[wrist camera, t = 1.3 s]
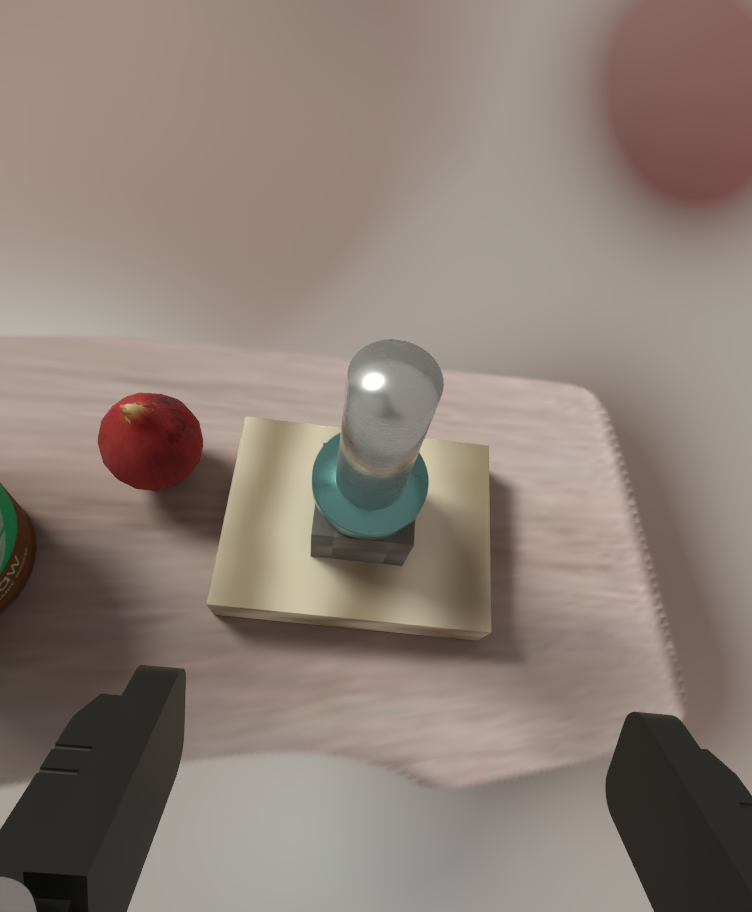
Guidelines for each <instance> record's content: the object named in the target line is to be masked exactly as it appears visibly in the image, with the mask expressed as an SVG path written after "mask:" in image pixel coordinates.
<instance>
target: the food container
mask: <svg viewBox="0 0 752 912" xmlns="http://www.w3.org/2000/svg"><path fill="white" fill-rule="evenodd" d="M35 556H36V537H35V533H34V529H33V526H32V524H31V522H30V520H29V518H28V516H27V515H26V513H25V512H24V511H23V509H22V508H21V507H20V506H19V505H18V503H17V502H16V501H15V500H14V499H13V497H12V496H11V495H10V494H9V493H8V492H7V490H6V489H5V488H4V487H3V486H2V484H1V483H0V614H1V613H2V612H3V611H4V610H5V609H6V608H7V607H8V606H9V605H10V604H11V603H12V602H13V601H14V600H15V599H16V598H17V596H18V595H19V594H20V592H21V591H22V589H23V588H24V586H25V585H26V582H27V580H28V578H29V576H30V574H31V572H32V568H33V565H34V562H35Z"/></svg>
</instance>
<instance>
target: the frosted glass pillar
mask: <svg viewBox="0 0 752 912" xmlns="http://www.w3.org/2000/svg"><path fill="white" fill-rule="evenodd" d="M443 385H444V384H443V376H442V372H441V369H440V367H439V365H438V364H437V363H436V361H435V360H434V358H433V357H432V356H431V355H430V354H429V353H427V352H426V351H425V350H424V349H422V348H420V347H419V346H417V345H414V344H412V343H409V342H406V341H401V340H381V341H377V342H374V343H371V344H369V345H367V346H365V347H364V348H362V349H361V350H360V351H359V352H358V353H357V354H356V355H355V356H354V357H353V359H352V361H351V363H350V365H349V369H348V375H347V383H346V392H345V400H344V409H343V417H342V426H341V432H340V433H339V434H337V435H335V436H334V437H332V438H331V439H330V440H329V441H328V442H327V443H326V444H325V445H324V446H323V447H322V449H321V450H320V451H319V453H318V455H317V457H316V459H315V462H314V466H313V470H312V493H313V498H314V501H315V504H316V506H317V508H318V510H319V512H320V513H321V515H322V516H323V517H324V519H325V520H326V521H327V522H328V523H329V524H330V525H331V526H333V527H334V528H335V529H337V530H338V531H340V532H342V533H344V534H346V535H348V536H351V537H354V538H359V539H365V540H376V539H383V538H387V537H390V536H393V535H395V534H397V533H399V532H401V531H402V530H404V529H405V528H407V527H408V526H409V525H410V524H411V523H412V522H413V521H414V519H415V518H416V517H417V515H418V514H419V512H420V510H421V508H422V506H423V504H424V502H425V499H426V497H427V493H428V486H429V478H428V471H427V468H426V465H425V462H424V460H423V458H422V456H421V455H420V453H419V451H420V448H421V446H422V443H423V441H424V438H425V436H426V433H427V431H428V428H429V426H430V423H431V421H432V418H433V416H434V413H435V411H436V408H437V406H438V403H439V401H440V398H441V396H442V392H443Z"/></svg>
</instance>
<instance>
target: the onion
mask: <svg viewBox="0 0 752 912" xmlns="http://www.w3.org/2000/svg"><path fill="white" fill-rule="evenodd" d="M98 445H99V449H100V452H101V456H102V460H103V463H104V464H105V466H106V467H107V468H108V469H109V470H110V471H111V473H112V474H113V475H114V476H115V477H116V478H117V479H118V480H120V481H122V482H124V483H126V484H128V485H130V486H132V487H134V488H136V489H143V490H153V491H157V490H160V489H164V488H167V487H171V486H174V485H176V484H177V483H179V482H180V481H182V480H183V479H185V478H186V477H188V476H189V475H190V473H191V472H192V471H193V469H194V468H195V467H196V465H197V464H198V463H199V460H200V456H201V452H202V448H203V438H202V433H201V429H200V424H199V421H198V420H197V418H196V417H195V416H194V415H193V413H192V412H191V411H190V410H189V409H188V408H187V407H186V406H185V405H184V404H183V403H182V402H181V401H179V400H178V399H175V398H172V397H169V396H166V395H163V394H152V393H137V394H134V395H131V396H127V397H125V398H123V399H122V400H121V401H119V402H118V403H116V404H115V405H114V406H112V407H111V409H110V410H109V411H108V413H107V414H106V415H105V416H104V418H103V419H102V421H101V425H100V431H99V436H98Z"/></svg>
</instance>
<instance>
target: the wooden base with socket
mask: <svg viewBox="0 0 752 912" xmlns="http://www.w3.org/2000/svg"><path fill="white" fill-rule="evenodd" d="M340 432H341V428H337V427H329V426H321V425H313V424H304V423H296V422H288V421H280V420H271V419H263V418H255V417H247V416H245V421H244V426H243V431H242V436H241V440H240V445H239V450H238V455H237V460H236V464H235V469H234V474H233V479H232V484H231V488H230V493H229V498H228V503H227V508H226V512H225V517H224V522H223V527H222V532H221V536H220V541H219V546H218V551H217V556H216V560H215V565H214V570H213V575H212V580H211V584H210V589H209V594H208V599H207V606H208V607H209V608H210V610H211V611H212V613H213V614H214V615H222V616H232V617H242V618H252V619H263V620H273V621H283V622H293V623H303V624H313V625H323V626H333V627H343V628H354V629H364V630H374V631H384V632H394V633H404V634H414V635H424V636H434V637H445V638H455V639H465V640H475V641H478V640H479V639H481V638H483V637H485V636H486V635H488V634H490V633H491V565H490V493H489V446H485V445H477V444H469V443H460V442H452V441H444V440H436V439H428V438H424V441H423V443H422V446H421V448H420V451H419V453H420V455H421V456H422V458H423V460H424V462H425V465H426V468H427V471H428V478H429V486H428V493H427V497H426V499H425V502H424V504H423V506H422V508H421V510H420V512H419V514H418V515H417V517H416V518H415V519H414V521H413V522H412V523H411V524H410V525H409V526H408V527H407V528H405V529H404V530H402V531H401V532H399V533H397V534H395V535H393V536H390V537H387V538H383V539H376V540H365V539H359V538H354V537H351V536H348V535H346V534H344V533H342V532H340V531H338V530H337V529H335V528H334V527H333V526H331V525H330V524H329V523H328V522H327V521H326V520H325V519H324V517H323V516H322V515H321V513H320V512H319V510H318V508H317V506H316V504H315V501H314V498H313V493H312V470H313V466H314V462H315V459H316V457H317V455H318V453H319V451H320V450H321V449H322V447H323V446H324V445H325V444H326V443H327V442H328V441H329V440H330V439H331V438H332V437H334V436H335V435H337V434H339V433H340Z"/></svg>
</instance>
